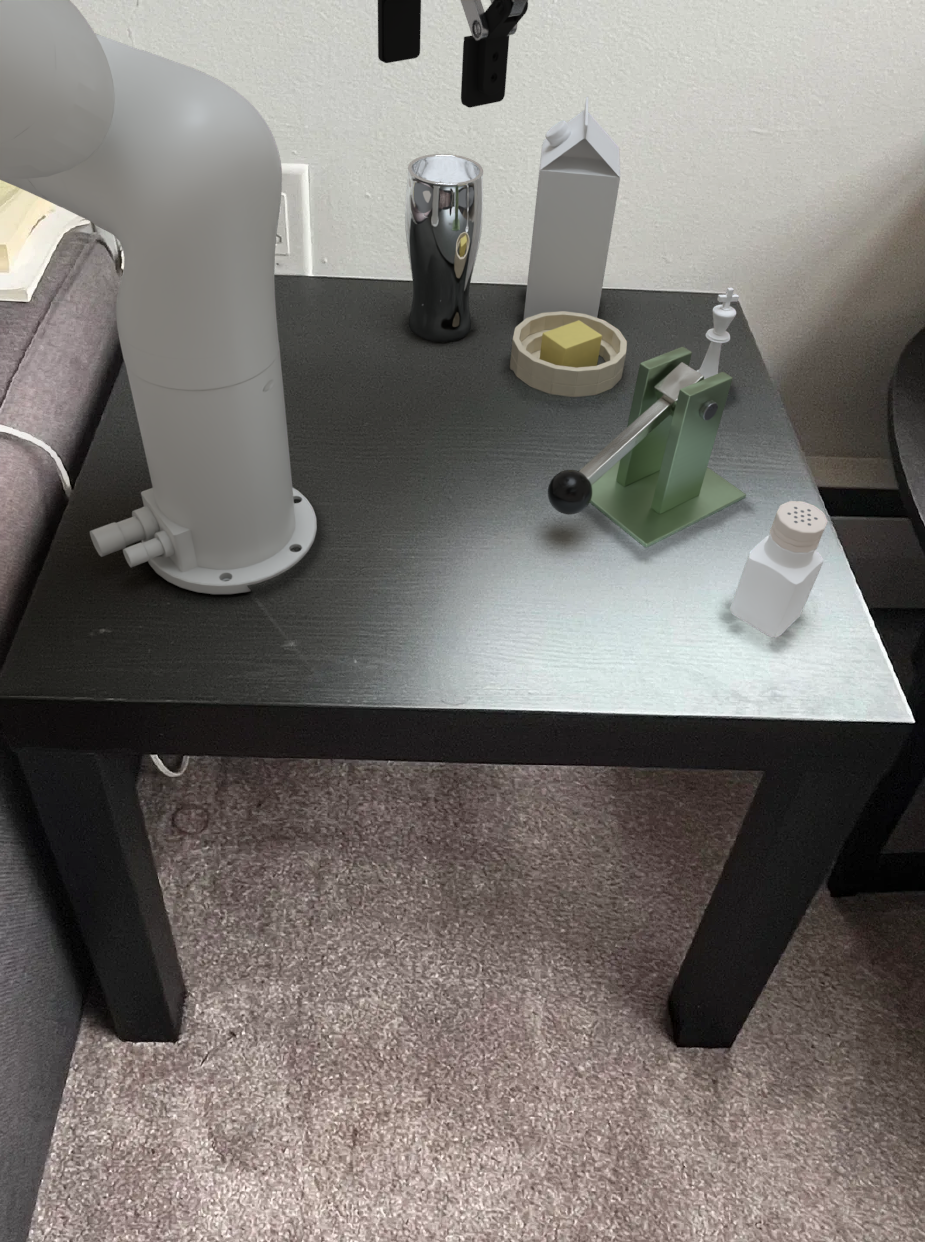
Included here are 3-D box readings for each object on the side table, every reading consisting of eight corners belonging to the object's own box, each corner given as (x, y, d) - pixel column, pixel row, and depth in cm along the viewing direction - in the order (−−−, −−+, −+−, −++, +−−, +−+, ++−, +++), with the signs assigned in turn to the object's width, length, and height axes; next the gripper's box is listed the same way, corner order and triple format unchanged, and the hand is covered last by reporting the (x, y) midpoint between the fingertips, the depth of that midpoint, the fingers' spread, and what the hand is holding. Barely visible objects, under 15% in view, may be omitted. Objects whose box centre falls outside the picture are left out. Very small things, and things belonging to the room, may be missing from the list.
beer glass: (401, 308, 97) (402, 152, 87) (471, 308, 98) (480, 153, 87) (406, 345, 93) (408, 184, 82) (479, 344, 93) (490, 185, 83)
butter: (560, 383, 89) (565, 348, 86) (538, 367, 90) (542, 332, 88) (596, 369, 90) (602, 335, 88) (574, 353, 92) (579, 319, 90)
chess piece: (738, 405, 88) (768, 302, 81) (686, 407, 88) (712, 304, 80) (719, 375, 92) (747, 274, 85) (669, 377, 91) (693, 275, 84)
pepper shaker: (771, 649, 67) (814, 545, 61) (722, 619, 69) (759, 515, 62) (800, 620, 70) (845, 517, 63) (752, 591, 71) (790, 488, 65)
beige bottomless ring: (558, 417, 86) (563, 382, 83) (488, 364, 91) (490, 329, 89) (643, 383, 90) (650, 349, 88) (570, 334, 96) (575, 301, 93)
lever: (573, 530, 71) (562, 507, 68) (545, 506, 72) (533, 482, 70) (713, 403, 72) (708, 375, 69) (682, 383, 73) (676, 354, 71)
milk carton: (595, 298, 101) (627, 100, 87) (594, 333, 96) (628, 129, 82) (526, 292, 101) (547, 93, 88) (522, 326, 96) (544, 121, 83)
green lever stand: (643, 556, 73) (676, 425, 65) (565, 493, 78) (586, 362, 70) (743, 506, 78) (785, 377, 70) (663, 449, 83) (694, 322, 75)
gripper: (311, -273, 57) (325, 52, 70) (491, -235, 48) (471, 132, 60) (417, -273, 61) (413, 38, 73) (604, -237, 51) (563, 112, 64)
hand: (439, 80), depth 67 cm, fingers open, 9 cm apart
